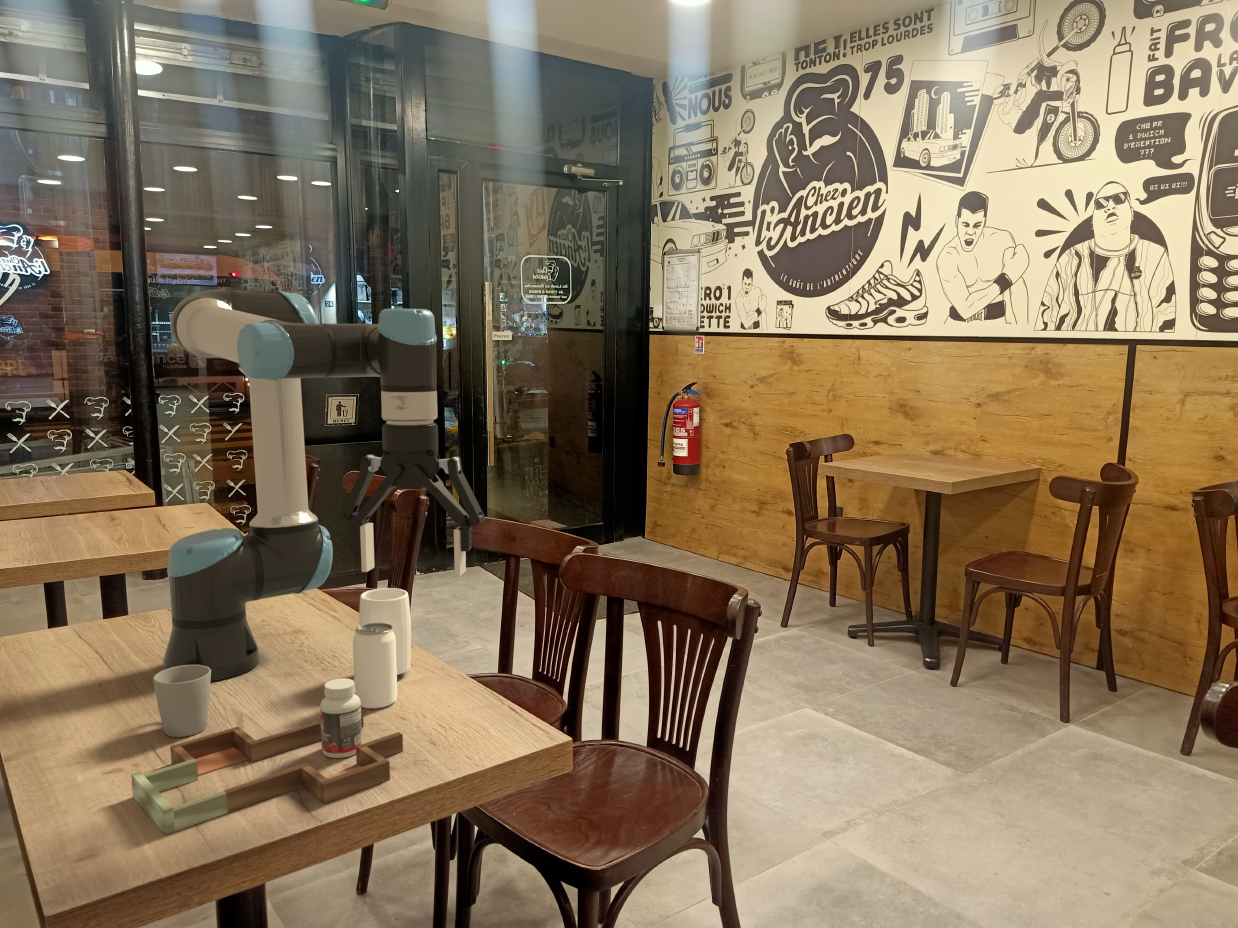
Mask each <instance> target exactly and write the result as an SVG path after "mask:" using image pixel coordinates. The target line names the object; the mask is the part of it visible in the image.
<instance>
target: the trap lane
mask: <svg viewBox="0 0 1238 928" xmlns="http://www.w3.org/2000/svg"><path fill="white" fill-rule="evenodd" d="M361 726H362V728H364V710H363V709H361ZM403 737H404V736H403V733H401V732H400V731H397V732H395V733H391V734H388V735H385V736H382V737H380V738H379V737H378V738H376V739H374V740H373V739H372V740H370V741H368V742H364V743H362V744H361V745H358V746H356V754H355V757H356V759H355V761H356V766H355V767H352V768H349V769H346V770H343V771H340V772H337V773H334V774H332V775H329V776H326V777H325V776H324V775H323V774H322V773H321V772H319V771H318V770H317V769H315V768H314V767H312V766H311V765H310V764H309V763H308V762H305V763H302V764H298V765H296V766H292V767H290V768H287V769H284V770H281V771H277V772H275V773H272V774H269V775H267V776H262V777H260V778H257V779H252V780H251V781H247V782H245V783H242V784H239V785H236V786H233V787H230V788H227V789H224V790H221V791H218V792H215V793H212V794H209V795H206V796H203V797H200V798H198V799H194V800H191V801H187V802H185V803H181V804H180V805H176V806H173V805H172V804H171V803H170V802H169V801H168V800H167V798H165V796H163V794H162V793H161V792H164V791H167V790H170V789H174V788H176V787H179V786H183V785H186V784H189V783H192V782H195V781H199V776H202V775H205V774H208V773H211V772H214V771H217V770H220V769H224V768H226V767H229V766H230V767H231V766H234V765H236V764H240V763H242V762H245V761H250V762H251V763H255V762H257V761H260V760H261V761H262V760H264V759H267V758H270V757H273V756H276V755H280V754H282V753H286V752H289V751H292V750H295V749H299V748H302V747H305V746H309V745H311V744H313V743H317V742H321V719H320V720H317V721H315V722H311V723H308V724H304V725H301V726H298V727H294V728H292V729H287V730H285V731H281V732H278V733H275V734H271V735H267V736H265V737H261V738H259V739H255V738H253V737H252V736H251V735H249V733H247V732H246V731H244V730H243V729H242V728H241V727H240V726H235V727H232V728H228V729H225V730H221V731H218V732H217V731H216V732H215V733H211V734H207V735H203V736H200V737H197V738H193V739H191V740H186V741H183V742H180V743H175V744H172V745H170V760H171V761H170V762H171V765H170V766H166V767H163V768H160V769H157V770H152V771H150V772H147V773H142V772H141V771H138V772H133V773H131V774H130V775H131V776H130V777H131V789H132V798H133V799H134V800H135V801H136V802H137V804H138V805H140V807H141V808H142V810H144V811H145V813H146V814H147V815H148V816H149V817H150V819H151V820H152V821H153V822H154V823H155V824H156V825H157V827H158V828H159V829H160V830H161V832H163V834H165V835H169V834H173V833H175V832H179V831H181V830H183V829H186V828H189V827H191V826H196V825H198V824H200V823H203V822H206V821H209V820H213V819H214V818H218V817H220V816H223V815H227V814H228V813H232V812H234V811H237V810H240V809H242V808H243V809H244V808H245V807H249V806H252V805H255V804H257V803H260V802H263V801H266V800H269V799H271V798H274V797H277V796H280V795H282V794H286V793H288V792H292V791H295V790H297V789H299V788H304V789H306V790H307V791H308V792H309V793H311V794H312V795H313V796H314V797H316V798H317V799H318V800H319V801H321V802H322V803H323V804H328V803H330V802H333V801H336V800H339V799H342V798H344V797H345V798H346V796H347V797H348V796H350V795H353V794H355V793H358V792H361V791H364V790H366V789H369V788H371V787H373V786H374V787H375V786H376V785H379V784H382V783H385V782H388V781H391V776H390V775H391V769H390V768H391V765H390V760H388V759H386V758H388V757H391V756H393V755H396V754H399V753H403V752H404V743H403V742H404V739H403Z"/></svg>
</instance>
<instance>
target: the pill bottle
mask: <svg viewBox="0 0 1238 928" xmlns="http://www.w3.org/2000/svg"><path fill="white" fill-rule="evenodd" d="M323 686H324V691H323V693H324V698H323V699H322V700H321V702H320V703H319V711H320V712H319V715H320V720H321V740H320V742H321V752H322V754H323V755H324V756H325V757H328V758H332V759H343V758H349V757H351V756H354V755H356V746H358V745H361V744H363V733H362V732H363V731H362V729H363V727H362V726H361V710H362V708H361V701H360V698H359V697H358V696H357V695H355V683H354V679H350V678H344V677H343V678H335V679H331V680H329V681H326V682H325V683H324V685H323Z"/></svg>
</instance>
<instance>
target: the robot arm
mask: <svg viewBox="0 0 1238 928" xmlns="http://www.w3.org/2000/svg"><path fill="white" fill-rule="evenodd" d="M435 322H436V321H435V315H434V314H433V312H432V311H431V310H429V309H425V308H384V309H382V310H381V311H380V313H379V315H378V322H377V324H376V323H369V322H368V323H319V321H318V317H317V315H316V312H315V310H314V308H313V307H312V305H311V303H310V302H309V300H308V299H306V298H305V297H304V296H303V295H301V294H299V293H294V292H287V291H286V292H285V291H280V290H275V291H273V290H269V291H268V290H239V289H238V290H236V289H235V290H234V289H218V288H217V289H208V290H201V291H198V292H195V293H193V294H191V295H189V296H187V297H185V298H183V299H182V300H181V301H180V302H179V303H178V304H177V305H176V307H175V308H174V310H173V311H172V314H171V317H170V322H169V323H170V325H169V326H170V331H171V334H172V337H173V339H174V341H175V343H177V345H178V346H180V348H181V349H182V350H184V351H186V352H187V353H189V354H191V355H193V356H197V357H199V358H205V359H213V358H214V359H226V360H229V361H231V362H234V363H237V364H238V370H239V371H240V372H241V373H242V374H243V375H245V377H247V379H248V386H249V400H250V414H251V415H250V416H251V418H250V419H251V430H252V431H251V433H252V444H253V445H252V446H253V447H252V448H253V460H254V472H255V473H254V474H255V489H256V492H255V493H256V505H257V507H256V508H257V514H256V515H255V516H254V517H253V518H252V519H251V520H250V521H249V534H246V535H245V534H244V535H243V533H242V532H241V530H240V529H237V528H234V527H233V528H232V527H225V528H220V529H217V528H215V529H208V530H204V531H199V532H196V533H192V534H190V535H186V536H184V537H182V538H180V539H178V540H177V541H175V542H174V543H173V544H172V545H171V546H170V548H169V549H168V566H167V574H168V582H169V595H170V607H171V608H170V609H171V611H170V612H171V622H172V623H171V624H172V625H171V626H172V628H171V632H170V636H169V639H168V643H167V646H166V649H165V652H164V656H163V660H162V661H163V662H162V664H163V665H162V666H163V670H165V669H168V668H172V667H177V666H183V665H203V666H207V667H209V668H210V669H211V682H212V681H219V680H220V681H221V680H224V679H229V678H233V677H236V676H239V675H243V674H245V673H248V672H249V671H251V670H253V669H255V667H257V666H258V664H259V663H260V650H259V647H258V645H257V641H256V639H255V637H254V635H253V633H252V630H251V628H250V625H249V623H248V619H247V611H246V610H247V609H246V607H247V606H246V605H247V603H249V602H254V601H259V600H264V599H269V598H270V599H271V598H276V597H281V596H287V595H292V594H295V595H299V594H301V593H303V592H306V591H310V590H314V589H318V588H319V587H321V586H322V585H323V584H324V583H325V582H326V580H327V579H328V577H329V575H330V572H331V570H332V564H333V558H334V557H333V554H334V553H333V549H334V548H333V542H332V540H331V535H330V533H329V531H328V529H327V528H326V527H325V526H322V525H321V524H319V519H318V517H317V515H316V514H315V513H313V512H312V511H311V510H310V509H309V496H308V481H307V465H306V464H307V463H306V450H305V449H306V448H305V445H306V444H305V431H304V417H303V416H304V415H303V401H302V400H303V399H302V385H301V384H302V382H301V379H310V378H322V379H323V378H363V377H364V378H365V377H367V378H368V377H370V378H372V377H374V378H376V377H377V378H380V391H381V392H380V395H381V397H380V399H381V402H380V403H381V418H382V420H383V421H386V423H384V424H383V425H382V426H381V434H382V437H381V439H382V452H383V453H382V456H381V457H379V456H376V455H375V454H372V453H371V454H367V455H365V456H362V457H361V458H360V463H359V464H360V465H359V473H358V474H357V477H356V480H355V482H354V484H353V486H352V488H351V491H350V493H349V495H348V497H347V499H346V502H345V504H344V506H343V509H342V511H341V513H340V520H341V521H343V522H346V521H347V522H349V523H351V524H352V525H353V527H354V545H355V548H360V557H361V558H360V559H361V573H368V572H369V571H371V570H373V569H374V568H375V544H374V543H375V540H374V538H375V537H374V523H373V522H369V521H370V518H371V517H372V515H373V514H374V513H375V512H376V510H378V508H379V507H380V506H381V505H382V503H383V502H384V501H385V500H386V498H387V497H388V496H389V494H390V493H391V492H392V491H393V490H394V489H395V488H397V489H398V490H406V489H412V490H418V491H419V490H421V489H426V491H427V492H428V493H430V494H431V495H432V496H433V498H435V500H436V501H437V502H438V503H439V505H440V506H441V507H442V508H443V509H444V510H445V511H446V513H447V514H448V515H449V517H451V519H452V521H454V523H456V525H457V526H458V527H456V528H455V529H453V551H454V552H453V553H454V555H453V557H454V558H453V559H454V577H461V576H462V575H463V574H465V572H467V566H466V565H467V563H466V562H467V561H466V560H467V559H466V557H467V556H466V552H469V551H470V550H471V549H472V547H473V527H475V526H477V525H480V524H481V523H483V522H484V521H485V520H486V516H485V513H484V512H483V510H482V508H481V506H480V503H479V501H478V499H477V498H476V496H475V495H474V492H473V490H472V488H471V486H470V484H469V482H468V481H467V478H466V476H465V474H464V472H463V465H462V459H461V458H460V456H457V455H456V456H453V457H451V458H443V459H442V458H440V455H439V428H438V427H439V426H438V424H437V423H436V422H434V420H436V419H437V418H438V392H437V383H438V381H437V373H438V372H437V341H438V338H437V337H438V336H437V335H436V327H435V326H436V324H435ZM379 468H381V469H382V470H383V472H384V473H385V475H386V477H385V478H384V479H383V480H382V481H381V482H380V484H379V486H378V488H376V490H375V491H374V493H372V495H371V496H370V498H368V499H367V501H366V502H365V504H364V505H363V506H362V508H360V506H361V504H362V502H363V500H364V497H365V495H366V493H367V492H368V491H367V490H368V488H369V486H370V484H371V482H372V479H373V477H374V475H375V472H376V471H378V470H379ZM441 468H442V469H443V470H444V472H445V474H446V475H447V474H448V476H449V480H450V482H451V484H452V486H453V487H454V490H455V492H456V494H457V496H458V497H459V500H460V502H461V504H462V506H461V505H460V503H459V502H458V501H457V500H456V498H455V497H454V496H453V495H452V494H451V492H450V491H449V490H448V489H447V488H446V486H445V485H444V482H443V480H442V479H441V478H440V477H439V476H438V473H439V471H440V470H441ZM359 508H360V510H359ZM358 510H359V511H358Z"/></svg>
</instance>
